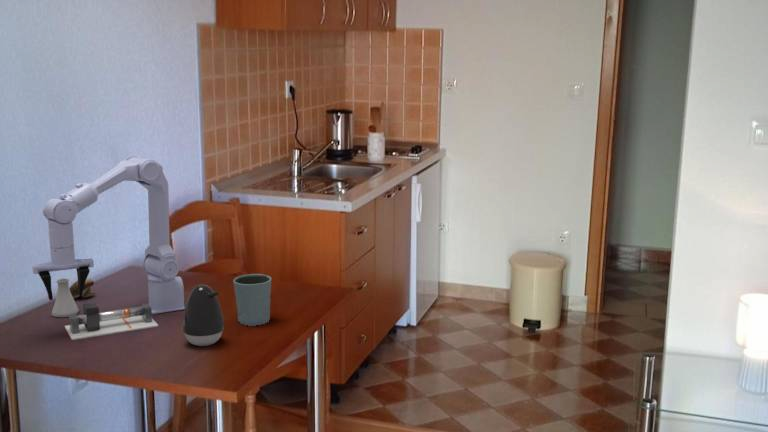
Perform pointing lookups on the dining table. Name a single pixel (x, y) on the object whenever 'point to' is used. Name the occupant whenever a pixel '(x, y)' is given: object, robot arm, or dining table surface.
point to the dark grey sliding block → (91, 316)
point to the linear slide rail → (112, 316)
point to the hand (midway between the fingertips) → (65, 297)
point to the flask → (64, 300)
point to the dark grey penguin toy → (203, 317)
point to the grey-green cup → (253, 298)
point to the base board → (112, 327)
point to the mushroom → (86, 289)
